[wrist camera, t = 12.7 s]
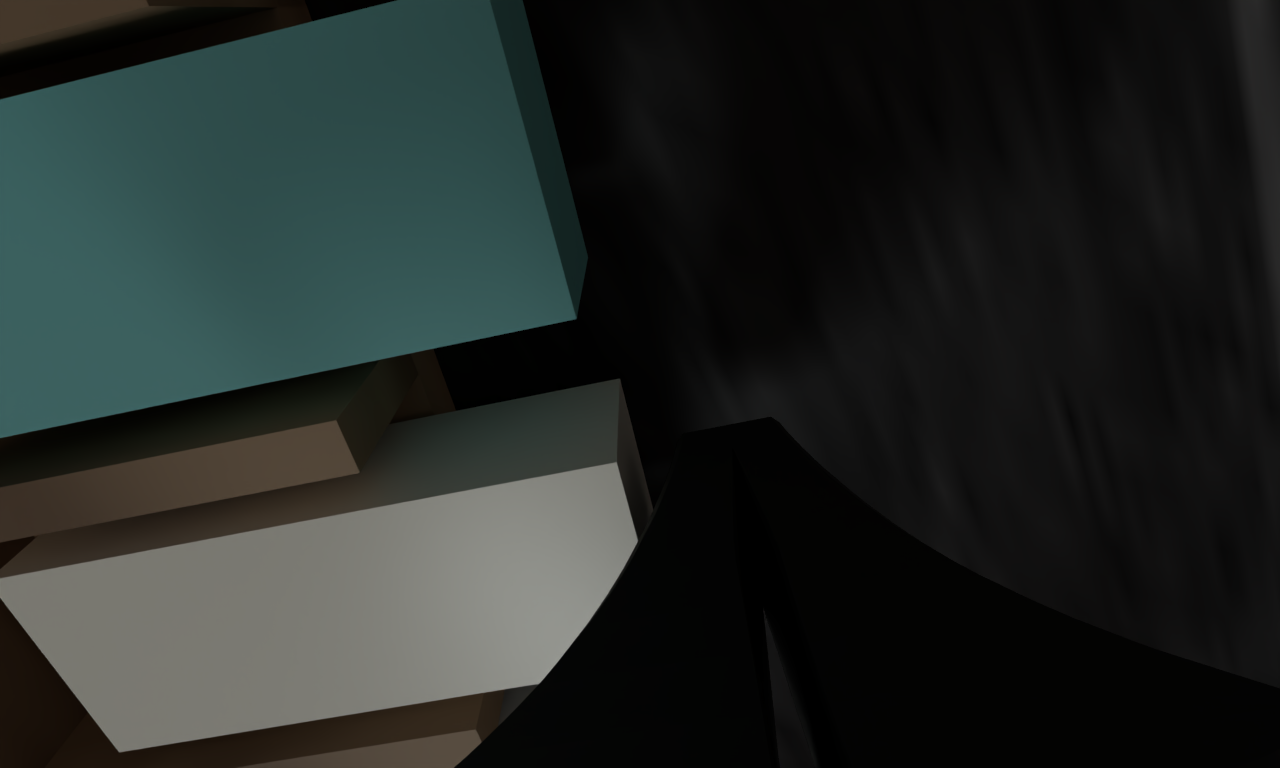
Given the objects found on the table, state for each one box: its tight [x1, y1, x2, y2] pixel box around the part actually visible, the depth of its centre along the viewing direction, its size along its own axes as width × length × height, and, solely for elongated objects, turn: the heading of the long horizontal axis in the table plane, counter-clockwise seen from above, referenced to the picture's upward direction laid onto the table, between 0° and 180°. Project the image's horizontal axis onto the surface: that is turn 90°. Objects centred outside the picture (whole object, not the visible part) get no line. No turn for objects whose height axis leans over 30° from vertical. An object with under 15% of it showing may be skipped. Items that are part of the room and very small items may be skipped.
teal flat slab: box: [0, 0, 588, 438], centre depth 9 cm, size 8×3×2 cm, turn 102°
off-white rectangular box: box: [0, 378, 653, 752], centre depth 11 cm, size 8×3×2 cm, turn 102°
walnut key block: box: [0, 0, 505, 768], centre depth 11 cm, size 8×16×4 cm, turn 12°
